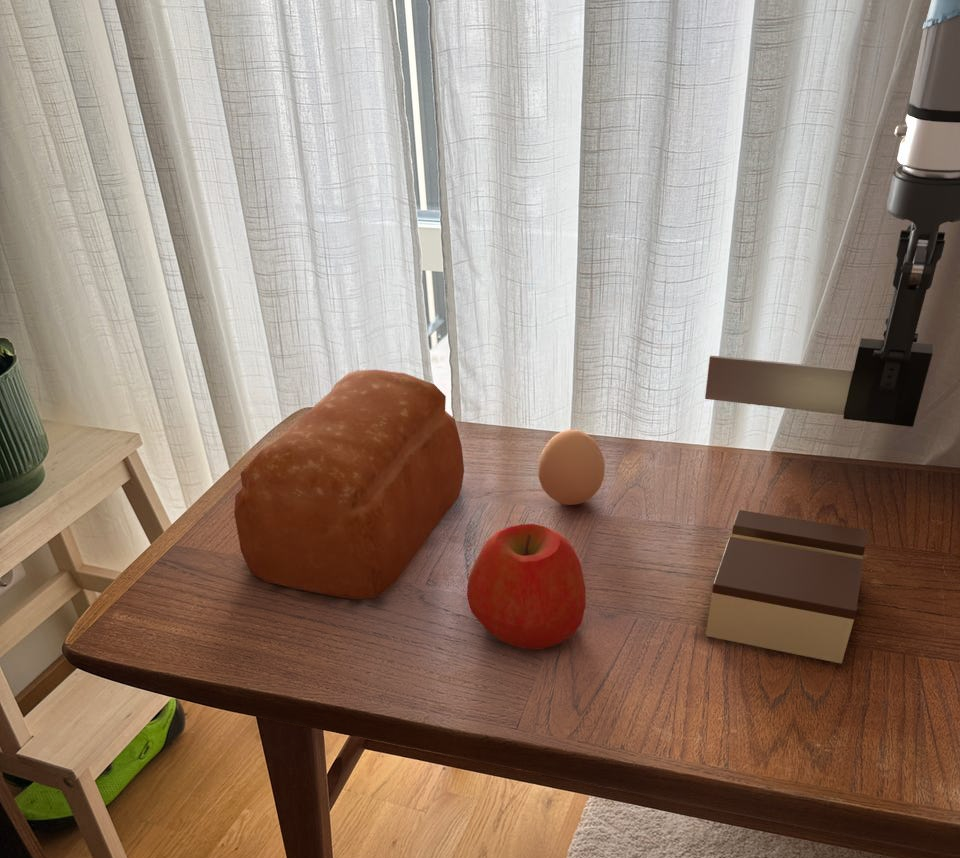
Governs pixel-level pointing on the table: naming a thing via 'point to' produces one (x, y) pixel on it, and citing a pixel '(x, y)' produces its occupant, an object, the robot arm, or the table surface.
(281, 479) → the bread
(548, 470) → the egg
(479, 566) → the apple
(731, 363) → the knife
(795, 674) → the table surface
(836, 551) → the cake slice
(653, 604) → the table surface
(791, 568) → the cake
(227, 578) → the table surface
